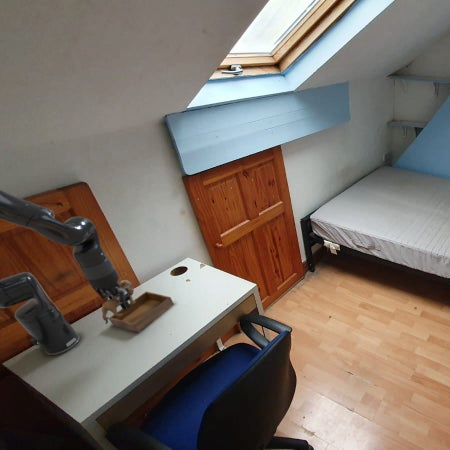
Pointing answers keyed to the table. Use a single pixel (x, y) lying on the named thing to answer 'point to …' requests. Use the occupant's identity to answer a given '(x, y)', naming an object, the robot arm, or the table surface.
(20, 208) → the robot arm
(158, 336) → the table surface
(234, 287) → the table surface
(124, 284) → the lion figurine
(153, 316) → the brown wooden shallow box
